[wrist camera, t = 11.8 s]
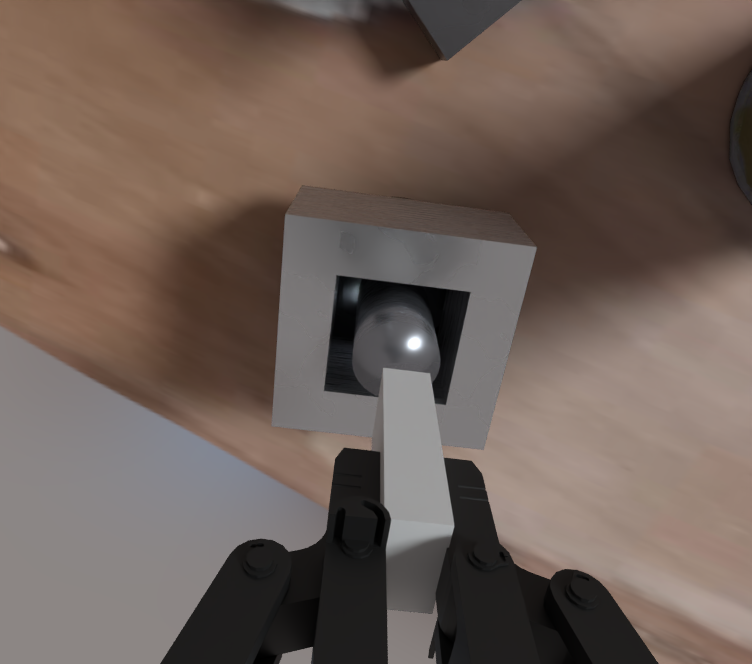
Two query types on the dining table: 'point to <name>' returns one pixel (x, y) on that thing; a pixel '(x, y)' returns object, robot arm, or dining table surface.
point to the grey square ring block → (401, 265)
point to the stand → (455, 21)
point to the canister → (742, 138)
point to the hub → (389, 327)
